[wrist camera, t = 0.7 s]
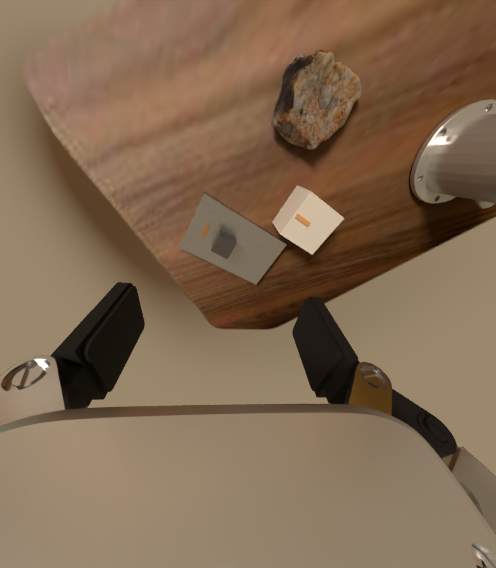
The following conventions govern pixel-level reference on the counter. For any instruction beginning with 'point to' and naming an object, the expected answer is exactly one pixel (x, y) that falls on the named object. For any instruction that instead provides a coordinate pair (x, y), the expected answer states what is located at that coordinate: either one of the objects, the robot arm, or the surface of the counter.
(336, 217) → the orange-striped white cube
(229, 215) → the plate
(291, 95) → the rock
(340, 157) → the counter surface
